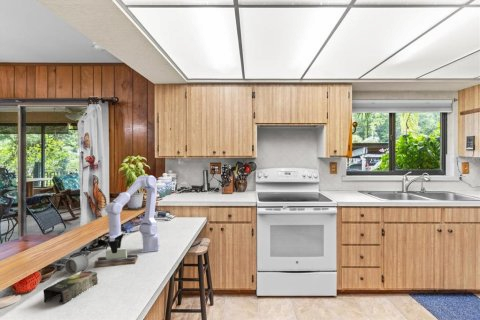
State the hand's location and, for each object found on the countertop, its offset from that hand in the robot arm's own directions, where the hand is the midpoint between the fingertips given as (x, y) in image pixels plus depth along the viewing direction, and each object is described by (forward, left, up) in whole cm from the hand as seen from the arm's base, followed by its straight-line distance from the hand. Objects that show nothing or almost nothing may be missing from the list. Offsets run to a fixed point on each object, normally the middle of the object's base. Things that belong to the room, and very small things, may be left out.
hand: (116, 250), depth 157 cm
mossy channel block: (+10, +31, -7) cm, 34 cm away
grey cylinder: (+18, +7, -7) cm, 21 cm away
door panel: (0, 0, -5) cm, 5 cm away
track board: (0, 0, -6) cm, 6 cm away
